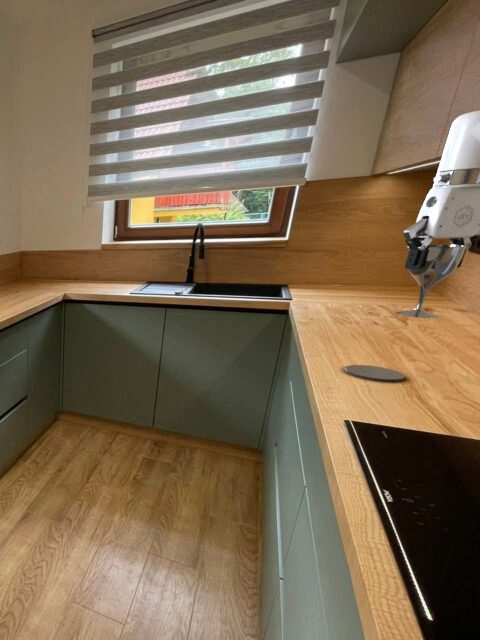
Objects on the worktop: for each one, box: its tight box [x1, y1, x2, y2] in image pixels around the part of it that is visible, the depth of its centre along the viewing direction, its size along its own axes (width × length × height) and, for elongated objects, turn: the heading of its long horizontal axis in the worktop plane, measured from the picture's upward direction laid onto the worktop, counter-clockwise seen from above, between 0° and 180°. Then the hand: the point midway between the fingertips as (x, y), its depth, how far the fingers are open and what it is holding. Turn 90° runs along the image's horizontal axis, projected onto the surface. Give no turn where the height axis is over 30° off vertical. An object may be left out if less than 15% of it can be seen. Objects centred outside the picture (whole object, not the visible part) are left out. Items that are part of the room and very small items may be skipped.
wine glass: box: [394, 244, 466, 319], centre depth 95 cm, size 8×8×15 cm
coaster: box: [343, 364, 405, 383], centre depth 100 cm, size 10×10×1 cm
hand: (431, 267), depth 94 cm, fingers closed on wine glass, 8 cm apart
